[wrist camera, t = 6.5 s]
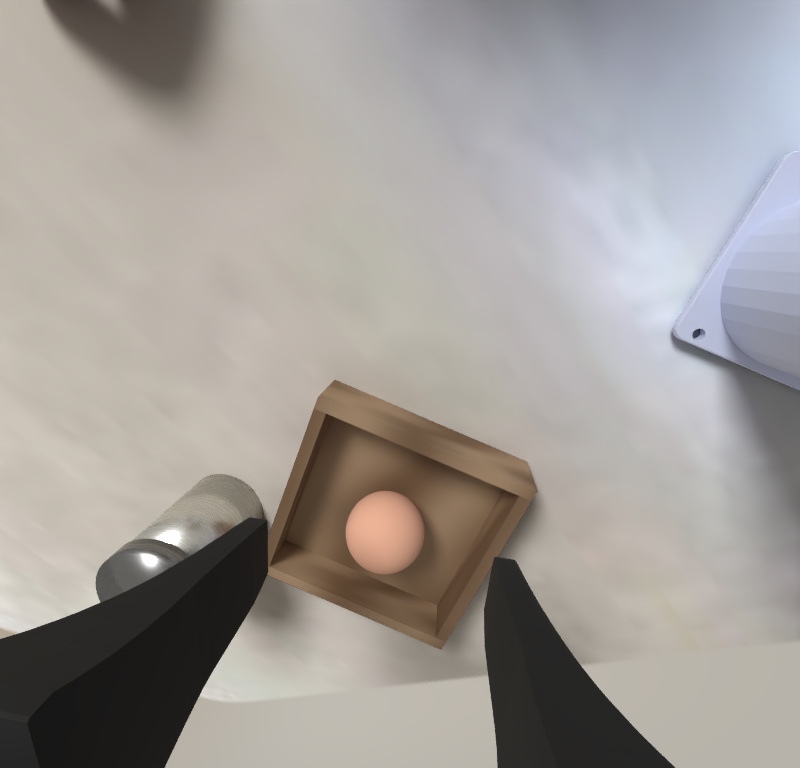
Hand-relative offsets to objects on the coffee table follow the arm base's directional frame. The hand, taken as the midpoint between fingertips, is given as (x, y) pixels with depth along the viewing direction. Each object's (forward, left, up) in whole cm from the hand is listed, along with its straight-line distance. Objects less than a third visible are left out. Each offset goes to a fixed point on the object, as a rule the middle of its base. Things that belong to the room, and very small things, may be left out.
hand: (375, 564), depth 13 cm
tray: (-1, +4, -10) cm, 11 cm away
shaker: (+8, +9, -10) cm, 16 cm away
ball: (-1, +4, -7) cm, 8 cm away
